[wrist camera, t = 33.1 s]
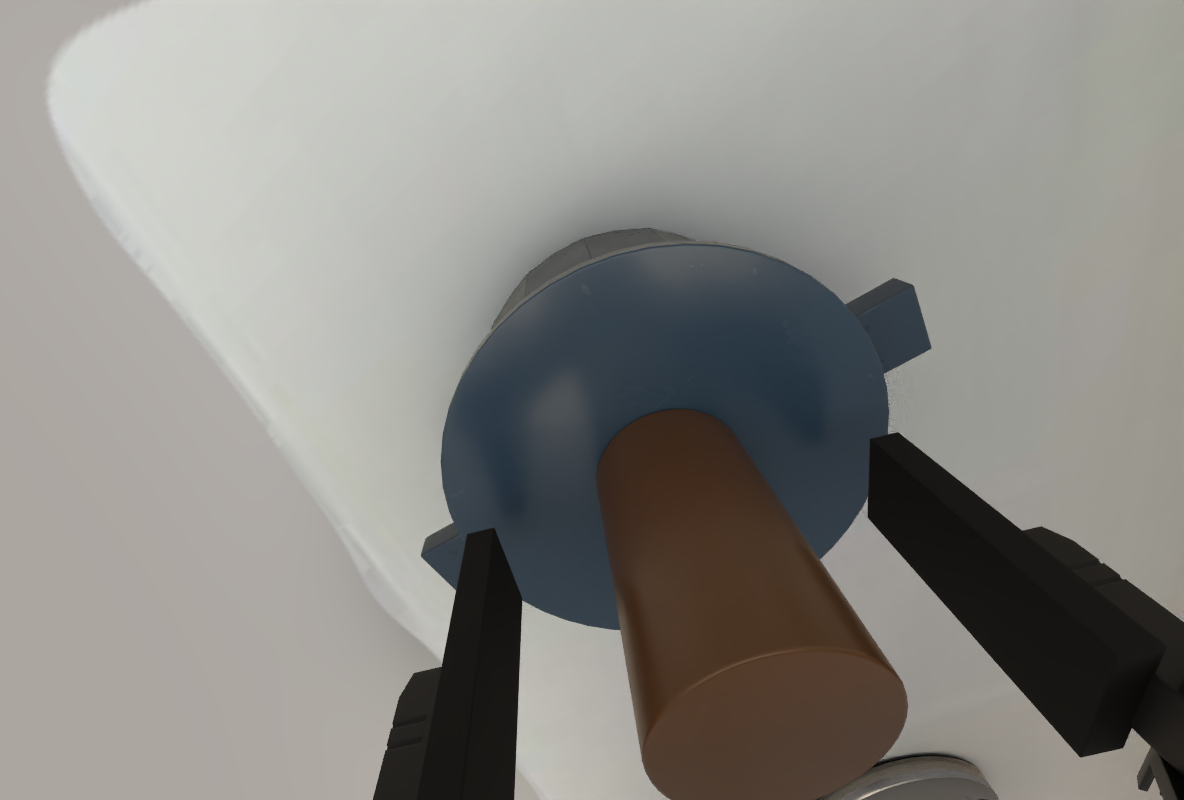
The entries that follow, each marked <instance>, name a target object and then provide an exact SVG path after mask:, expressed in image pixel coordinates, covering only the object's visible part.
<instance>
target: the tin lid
mask: <svg viewBox="0 0 1184 800" xmlns="http://www.w3.org/2000/svg"><path fill="white" fill-rule="evenodd" d="M888 420H889V407H888V395H887V386H886V382H885V378H884V374H883V370H882V367H881V363H880V360H879V358H878V355H877V353H876V351H875V349H874V346H873V344H872V342H871V340H870V337H869V336H868V334H867V333H866V331H865V330H864V328H863V327H862V325H861V324H860V322H859V321H858V319H857V318H856V316H855V315H854V314H853V313H852V312H851V311H850V309H849V308H848V307H847V306H846V305H845V304H844V303H843V302H842V301H841V300H840V299H839V298H838V297H837V296H836V295H835V294H834V293H833V292H832V291H830V290H829V289H828V288H826V287H825V286H824V285H822V284H821V283H820V282H818V281H817V280H816V279H814V278H813V277H812V276H810V275H808V274H806V273H804V272H803V271H801V270H799V269H797V268H795V267H793V266H791V265H789V264H787V263H786V262H784V261H782V260H779V259H777V258H775V257H772V256H769V255H766V254H763V253H760V252H757V251H754V250H752V249H749V248H745V247H740V246H734V245H729V244H724V243H718V242H709V241H686V240H678V241H668V242H657V243H646V244H642V245H638V246H633V247H629V248H625V249H620V250H616V251H612V252H609V253H607V254H604V255H601V256H599V257H596V258H593V259H591V260H588V261H585V262H583V263H580V264H578V265H576V266H574V267H572V268H570V269H569V270H567V271H565V272H563V273H561V274H559V275H557V276H555V277H554V278H552V279H550V280H548V281H547V282H545V283H544V284H543V285H541V286H540V287H539V288H537V289H536V290H534V291H533V292H532V293H530V294H529V295H527V296H526V297H525V298H523V299H522V300H521V301H520V302H519V303H518V304H516V305H515V306H514V307H513V308H512V309H511V310H510V311H509V312H508V313H507V314H506V315H505V316H504V317H503V318H502V319H501V320H500V321H499V322H497V324H496V325H495V326H494V327H493V329H492V330H491V331H490V333H489V334H488V335H487V336H486V338H485V339H484V340H483V341H482V343H481V344H480V345H479V346H478V348H477V349H476V351H475V353H474V355H473V356H472V358H471V360H470V361H469V363H468V365H467V366H466V368H465V370H464V372H463V373H462V376H461V378H460V381H459V383H458V386H457V388H456V391H455V393H454V396H453V398H452V401H451V404H450V406H449V410H448V414H447V419H446V423H445V427H444V432H443V438H442V452H441V470H442V481H443V489H444V493H445V497H446V501H447V505H448V509H449V512H450V514H451V517H452V519H453V522H454V524H455V526H456V529H457V531H458V533H459V535H460V537H461V538H462V540H463V542H464V543H465V542H466V537H467V534H469V533H473V532H477V531H482V530H486V529H490V528H495V531H496V533H497V536H498V538H499V541H500V543H501V546H502V548H503V551H504V553H505V556H506V558H507V561H508V563H509V566H510V568H511V571H512V573H513V576H514V578H515V581H516V583H517V586H518V588H519V591H520V594H521V596H522V600H523V601H524V602H526V603H528V604H530V605H532V606H534V607H536V608H538V609H540V610H542V611H544V612H546V613H549V614H551V615H554V616H557V617H559V618H562V619H564V620H568V621H572V622H576V623H579V624H583V625H587V626H593V627H599V628H605V629H612V630H621V636H622V642H623V648H624V654H625V660H626V666H627V672H628V678H629V684H630V690H631V696H632V702H633V708H634V714H635V720H636V726H637V732H638V738H639V744H640V750H641V756H642V762H643V765H644V769H645V772H646V773H647V775H648V777H649V779H650V781H651V782H652V784H653V785H654V786H655V787H656V788H657V789H658V791H660V792H661V793H662V794H663V795H665V796H666V797H667V798H669V799H671V800H815V799H818V798H820V797H822V796H825V795H827V794H829V793H832V792H834V791H836V790H838V789H839V788H841V787H843V786H845V785H847V784H849V783H850V782H852V781H853V780H855V779H857V778H858V777H860V776H861V775H862V774H864V773H865V772H866V771H868V770H869V769H870V768H872V767H873V766H874V765H875V764H876V763H877V762H878V761H879V760H881V759H882V758H883V756H884V755H885V754H886V753H887V752H888V751H889V750H890V749H891V747H892V746H893V744H894V743H895V742H896V740H897V739H898V737H899V735H900V733H901V731H902V729H903V727H904V724H905V721H906V718H907V710H908V703H907V695H906V691H905V688H904V685H903V682H902V681H901V679H900V678H899V676H898V675H897V673H896V672H895V670H894V669H893V667H892V666H891V664H890V663H889V661H888V660H887V658H886V657H885V655H884V654H883V652H882V651H881V649H880V648H879V647H878V645H877V644H876V642H875V641H874V639H873V638H872V636H871V635H870V633H869V632H868V630H867V629H866V627H865V626H864V624H863V623H862V621H861V620H860V619H859V617H858V616H857V614H856V613H855V611H854V610H853V608H852V607H851V605H850V604H849V602H848V601H847V599H846V598H845V596H844V595H843V593H842V592H841V590H840V589H839V588H838V586H837V585H836V583H835V582H834V580H833V579H832V577H831V576H830V574H829V573H828V571H827V570H826V568H825V567H824V565H823V564H822V562H821V561H820V559H821V558H822V557H823V556H824V555H825V554H826V553H827V552H828V551H829V550H830V549H831V548H832V547H833V546H834V545H835V544H836V543H837V541H838V540H839V539H840V538H841V537H842V535H843V534H844V533H845V532H846V531H847V529H848V528H849V527H850V525H851V524H852V522H853V521H854V519H855V518H856V516H857V515H858V513H859V512H860V510H861V509H862V507H863V505H864V503H865V501H866V499H867V497H868V488H869V456H870V439H871V438H876V437H880V436H884V435H888Z"/></svg>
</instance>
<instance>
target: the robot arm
mask: <svg viewBox="0 0 1184 800" xmlns="http://www.w3.org/2000/svg"><path fill="white" fill-rule="evenodd" d="M868 518H869V520H870V521H871V522H872V523H873V524H874V525H875V526H876V527H877V529H878V530H879V531H880V532H881V533H882V534H883V535H884V536H885V538H886V539H887V540H888V541H889V542H890V543H891V544H892V545H893V547H894V548H895V549H896V550H897V551H898V552H899V553H900V555H901V556H902V557H903V558H904V559H905V560H906V561H907V562H908V564H909V565H910V566H911V567H912V568H913V569H914V570H915V571H916V573H917V574H918V575H919V576H920V577H921V578H922V579H923V580H924V582H925V583H926V584H927V585H928V586H929V587H930V588H931V590H932V591H933V592H934V593H935V594H936V595H937V596H938V597H939V599H940V600H941V601H942V602H943V603H944V604H945V605H946V606H947V608H948V609H949V610H950V611H951V612H952V613H953V614H954V615H955V617H956V618H957V619H958V620H959V621H960V622H961V623H962V625H963V626H964V627H965V628H966V629H967V630H968V631H969V632H970V634H971V635H972V636H973V637H974V638H975V639H976V640H977V641H978V643H979V644H980V645H981V646H982V647H983V648H984V649H985V650H986V652H987V653H988V654H989V655H990V656H991V657H992V658H993V660H994V661H995V662H996V663H997V664H998V665H999V666H1000V667H1001V669H1002V670H1003V671H1004V672H1005V673H1006V674H1007V675H1008V676H1009V678H1010V679H1011V680H1012V681H1013V682H1014V683H1015V684H1016V685H1017V687H1018V688H1019V689H1020V690H1021V691H1022V692H1023V693H1024V695H1025V696H1026V697H1027V698H1028V699H1029V700H1030V701H1031V702H1032V704H1033V705H1034V706H1035V707H1036V708H1037V709H1038V710H1039V711H1040V713H1041V714H1042V715H1043V716H1044V717H1045V718H1046V719H1047V720H1048V722H1049V723H1050V724H1051V725H1052V726H1053V727H1054V728H1055V730H1056V731H1057V732H1058V733H1059V734H1060V735H1061V736H1062V737H1063V739H1064V740H1065V741H1066V742H1067V743H1068V744H1069V745H1070V746H1071V748H1072V749H1073V750H1074V751H1075V752H1076V753H1077V754H1078V755H1079V757H1080V758H1081V757H1085V756H1089V755H1094V754H1098V753H1103V752H1107V751H1112V750H1116V749H1121V748H1123V747H1124V745H1125V742H1126V740H1127V738H1128V735H1129V733H1130V731H1131V728H1133V729H1134V730H1135V731H1136V732H1137V733H1138V734H1139V735H1140V736H1141V737H1142V738H1143V739H1144V740H1145V741H1146V742H1147V743H1148V744H1149V745H1150V746H1151V748H1150V750H1149V752H1148V754H1147V756H1146V758H1145V760H1144V763H1143V765H1142V767H1141V769H1140V771H1139V773H1138V775H1137V780H1138V789H1140V790H1144V791H1148V789H1149V787H1150V785H1151V783H1152V781H1153V779H1154V777H1155V779H1156V782H1157V784H1158V787H1159V789H1160V795H1162V797H1163V800H1184V622H1183V621H1181V620H1180V619H1179V618H1177V617H1176V616H1175V615H1173V614H1172V613H1171V612H1169V611H1168V610H1166V609H1165V608H1164V607H1162V606H1161V605H1160V604H1158V603H1157V602H1156V601H1154V600H1153V599H1152V598H1150V597H1149V596H1147V595H1146V594H1145V593H1143V592H1142V591H1141V590H1139V589H1138V588H1137V587H1135V586H1134V585H1133V584H1131V583H1130V582H1128V581H1127V580H1126V579H1125V580H1123V579H1121V577H1120V575H1119V574H1118V573H1116V572H1115V571H1114V570H1112V569H1111V568H1109V567H1108V566H1107V565H1105V564H1104V563H1103V564H1101V563H1100V562H1099V559H1097V558H1096V557H1095V556H1093V555H1092V554H1090V553H1089V552H1088V551H1086V550H1085V549H1084V548H1082V547H1081V546H1080V545H1078V544H1077V543H1076V542H1074V541H1073V540H1071V539H1068V538H1066V537H1064V536H1062V535H1059V534H1057V533H1055V532H1053V531H1050V530H1048V529H1046V528H1044V527H1042V526H1041V527H1037V528H1032V529H1028V530H1024V531H1022V530H1020V529H1019V528H1018V527H1017V526H1015V525H1014V524H1013V523H1012V522H1010V521H1009V520H1008V519H1007V518H1005V517H1004V516H1003V515H1002V514H1000V513H999V512H998V511H996V510H995V509H994V508H993V507H991V506H990V505H989V504H988V503H986V502H985V501H984V500H983V499H981V498H980V497H979V496H978V495H976V494H975V493H974V492H973V491H971V490H970V489H969V488H968V487H966V486H965V485H964V484H962V483H961V482H960V481H959V480H957V479H956V478H955V477H954V476H952V475H951V474H950V473H949V472H947V471H946V470H945V469H944V468H942V467H941V466H940V465H939V464H937V463H936V462H935V461H934V460H932V459H931V458H930V457H929V456H927V455H926V454H925V453H923V452H922V451H921V450H920V449H918V448H917V447H916V446H915V445H913V444H912V443H911V442H910V441H908V440H907V439H906V438H905V437H903V436H902V435H901V434H900V433H898V432H897V433H893V434H888V435H884V436H880V437H876V438H871V439H870V456H869V488H868ZM521 617H522V596H521V594H520V591H519V588H518V586H517V583H516V581H515V578H514V576H513V573H512V571H511V568H510V566H509V563H508V561H507V558H506V556H505V553H504V551H503V548H502V546H501V543H500V541H499V538H498V536H497V533H496V531H495V528H490V529H486V530H482V531H477V532H473V533H469V534H467V537H466V542H465V548H464V553H463V558H462V563H461V569H460V574H459V579H458V584H457V590H456V595H455V600H454V605H453V611H452V616H451V621H450V626H449V632H448V637H447V642H446V647H445V653H444V658H443V663H442V667H439V668H435V669H430V670H426V671H422V672H417V673H414V674H413V676H412V677H411V679H410V681H409V682H408V684H407V685H406V687H405V689H404V690H403V692H402V694H401V696H400V697H399V700H398V704H397V708H396V712H395V716H394V720H393V728H392V729H391V731H390V735H389V739H388V743H387V746H388V748H387V750H386V751H385V755H384V758H383V762H382V766H381V770H380V774H379V778H378V782H377V786H376V790H375V793H374V797H373V800H514V789H515V765H516V740H517V715H518V691H519V666H520V642H521ZM819 800H998V797H997V795H996V794H995V792H994V791H993V789H992V788H991V786H990V785H989V784H988V782H987V781H986V779H985V778H984V777H983V775H982V774H981V772H980V771H979V770H978V769H977V768H976V767H975V766H973V765H971V764H970V763H967V762H965V761H962V760H959V759H955V758H950V757H941V756H925V757H914V758H907V759H902V760H897V761H893V762H889V763H886V764H882V765H879V766H876V767H873V768H871V769H869V770H868V771H866V772H865V773H864V774H862V775H861V776H860V777H858V778H857V779H855V780H853V781H852V782H850V783H849V784H847V785H845V786H843V787H841V788H839V789H838V790H836V791H834V792H832V793H829V794H827V795H825V796H823V797H821V798H820V799H819Z"/></svg>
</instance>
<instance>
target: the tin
mask: <svg viewBox="0 0 1184 800" xmlns="http://www.w3.org/2000/svg"><path fill="white" fill-rule="evenodd" d="M678 240H686V241H696V240H693V239H689V238H686V237H683V236H680V235H677V234H673V233H668V232H663V231H658V230H655V229H651V228H648V229H647V228H644V229H631V230H620V231H612V232H607V233H603V234H599V235H594V236H591V237H588V238H584V239H581V240H579V241H578V242H575V243H573V244H571V245H569V246H567V247H566V248H564V249H562V250H560V251H558V252H556V253H554V254H553V255H552V256H550V257H549V258H548V259H546V260H545V261H543V262H542V263H541V264H539V265H538V266H537V267H536V268H535V269H533V270H532V271H530V272H529V273H528V274H527V275H526V276H525V278H524V279H523V280H522V282H521V283H520V284H519V285H518V287H517V288H516V289H515V291H514V292H513V293H512V294H511V296H510V297H509V299H508V301H507V302H506V304H505V306H504V307H503V309H502V311H501V312H500V314H499V315H498V317H497V318H496V320H495V321H494V323H493V325H492V328H491V330H492V329H493V327H494V326H495V325H496V324H497V322H499V321H500V320H501V319H502V318H503V317H504V316H505V315H506V314H507V313H508V312H509V311H510V310H511V309H512V308H513V307H514V306H515V305H516V304H518V303H519V302H520V301H521V300H522V299H523V298H525V297H526V296H527V295H529V294H530V293H532V292H533V291H534V290H536V289H537V288H539V287H540V286H541V285H543V284H544V283H545V282H547V281H548V280H550V279H552V278H554V277H555V276H557V275H559V274H561V273H563V272H565V271H567V270H569V269H570V268H572V267H574V266H576V265H578V264H580V263H583V262H585V261H588V260H591V259H593V258H596V257H599V256H601V255H604V254H607V253H609V252H612V251H616V250H620V249H625V248H629V247H633V246H638V245H642V244H646V243H657V242H668V241H678ZM846 306H847V307H848V308H849V309H850V311H851V312H852V313H853V314H854V315H855V316H856V318H857V319H858V321H859V322H860V324H861V325H862V327H863V328H864V330H865V331H866V333H867V334H868V336H869V337H870V340H871V342H872V344H873V346H874V349H875V351H876V353H877V355H878V358H879V360H880V363H881V367H882V370H883V374H884V373H886V372H888V371H890V370H892V369H894V368H896V367H898V366H899V365H901V364H903V363H905V362H907V361H909V360H911V359H913V358H915V357H917V356H918V355H920V354H922V353H924V352H926V351H928V350H930V349H931V344H930V341H929V337H928V334H927V330H926V327H925V323H924V320H923V316H922V313H921V309H920V306H919V302H918V299H917V295H916V292H915V289H914V286H913V285H912V284H909V283H906V282H904V281H901V280H898V279H895V278H893V279H891V280H889V281H887V282H885V283H883V284H882V285H880V286H878V287H876V288H874V289H873V290H871V291H869V292H867V293H865V294H864V295H862V296H860V297H858V298H856V299H855V300H853V301H851V302H849V303H847V304H846ZM464 548H465V543H464V542H463V540H462V538H461V537H460V535H459V533H458V531H457V529H456V526H455V524H454V522H453V523H452V524H450V525H448V526H446V527H444V528H443V529H441V530H439V531H437V532H435V533H434V534H432V535H430V536H428V537H427V538H426V539H425V543H424V546H423V549H422V553H421V557H422V558H423V559H424V560H425V561H426V562H427V563H428V564H429V565H430V566H431V567H432V568H433V569H434V570H435V571H437V572H438V573H439V574H440V575H441V576H442V577H443V578H444V579H445V580H446V581H447V582H448V583H449V584H450V585H451V586H452V587H453V588H454V589H455V590H457V584H458V579H459V574H460V569H461V563H462V558H463V553H464Z"/></svg>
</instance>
